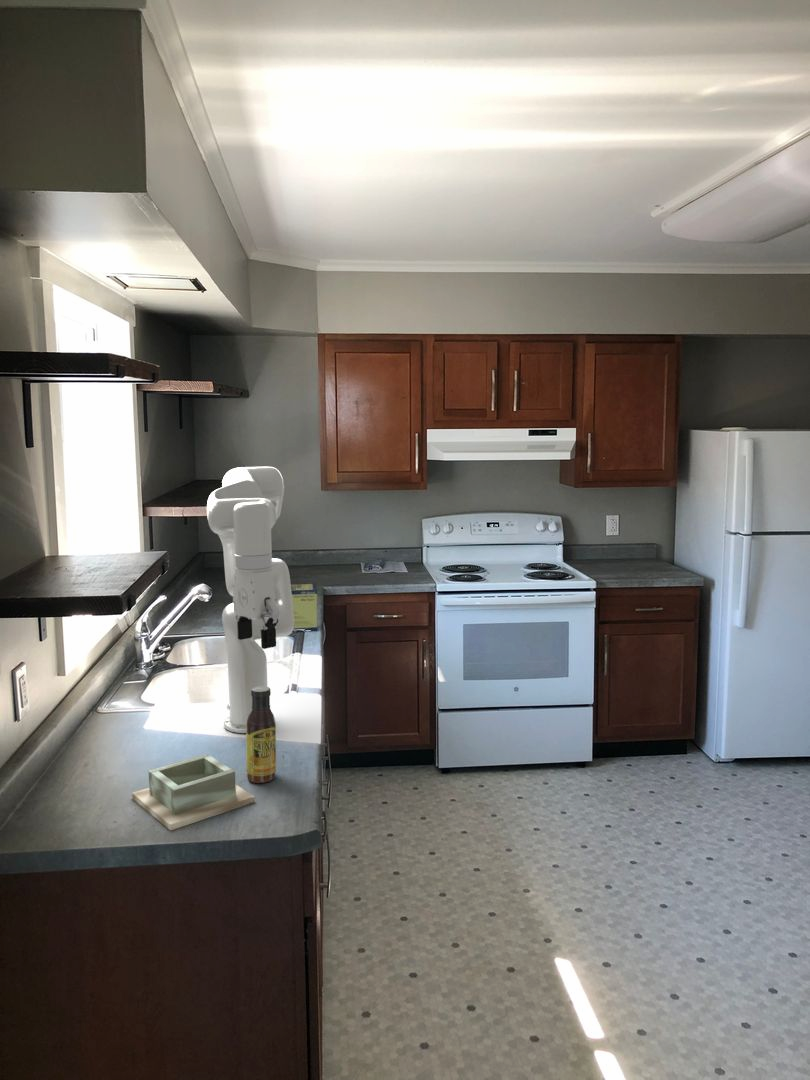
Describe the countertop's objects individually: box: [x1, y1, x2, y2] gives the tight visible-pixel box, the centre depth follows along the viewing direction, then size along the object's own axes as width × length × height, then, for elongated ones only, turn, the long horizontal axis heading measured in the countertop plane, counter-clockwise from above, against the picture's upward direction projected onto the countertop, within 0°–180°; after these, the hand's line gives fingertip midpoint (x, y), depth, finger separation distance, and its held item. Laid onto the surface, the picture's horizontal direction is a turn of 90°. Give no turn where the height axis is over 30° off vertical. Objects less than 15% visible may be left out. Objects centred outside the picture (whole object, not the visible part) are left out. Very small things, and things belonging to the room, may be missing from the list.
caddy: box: [131, 753, 255, 831], centre depth 172 cm, size 18×18×6 cm
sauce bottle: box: [245, 686, 277, 784], centre depth 181 cm, size 7×6×20 cm
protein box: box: [291, 583, 319, 632], centre depth 309 cm, size 10×16×16 cm
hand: (256, 642), depth 178 cm, fingers open, 9 cm apart
